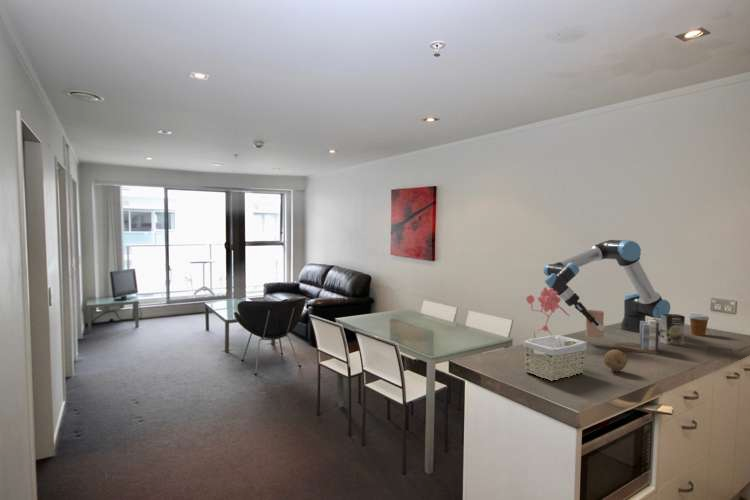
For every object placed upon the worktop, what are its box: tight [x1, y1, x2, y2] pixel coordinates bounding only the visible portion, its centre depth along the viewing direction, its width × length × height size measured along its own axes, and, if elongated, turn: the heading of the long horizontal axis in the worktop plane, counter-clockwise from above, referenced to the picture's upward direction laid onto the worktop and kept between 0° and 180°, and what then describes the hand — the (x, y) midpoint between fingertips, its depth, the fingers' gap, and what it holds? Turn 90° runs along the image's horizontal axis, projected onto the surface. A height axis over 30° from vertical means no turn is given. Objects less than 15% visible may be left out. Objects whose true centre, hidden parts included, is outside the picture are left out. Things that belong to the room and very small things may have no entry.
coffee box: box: [659, 313, 686, 346], centre depth 229 cm, size 9×6×16 cm
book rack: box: [613, 316, 660, 355], centre depth 218 cm, size 12×18×16 cm, turn 67°
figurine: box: [526, 286, 570, 338], centre depth 203 cm, size 15×26×35 cm, turn 27°
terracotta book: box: [585, 309, 605, 339], centre depth 225 cm, size 5×8×14 cm, turn 67°
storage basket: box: [523, 334, 588, 379], centre depth 180 cm, size 24×16×15 cm
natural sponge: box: [603, 349, 628, 373], centre depth 182 cm, size 9×9×10 cm
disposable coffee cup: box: [688, 313, 710, 337], centre depth 247 cm, size 10×10×12 cm
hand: (602, 328), depth 223 cm, fingers closed on terracotta book, 5 cm apart
